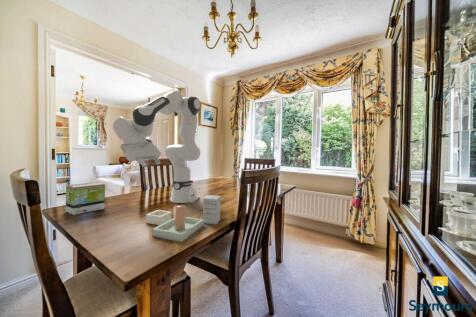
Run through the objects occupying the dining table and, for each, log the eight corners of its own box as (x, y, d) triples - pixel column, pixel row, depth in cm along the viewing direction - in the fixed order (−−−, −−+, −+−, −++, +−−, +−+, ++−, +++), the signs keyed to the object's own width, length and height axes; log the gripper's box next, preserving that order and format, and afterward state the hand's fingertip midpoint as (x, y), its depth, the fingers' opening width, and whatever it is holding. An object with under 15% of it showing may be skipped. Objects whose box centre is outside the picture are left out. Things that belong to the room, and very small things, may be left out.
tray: (178, 221, 99) (178, 215, 99) (203, 225, 95) (203, 219, 95) (152, 236, 82) (152, 229, 82) (182, 242, 78) (182, 234, 78)
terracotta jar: (178, 226, 91) (179, 204, 91) (186, 227, 90) (187, 205, 89) (172, 229, 87) (173, 207, 86) (181, 231, 86) (182, 208, 85)
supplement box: (206, 218, 105) (207, 194, 105) (220, 219, 104) (221, 195, 104) (202, 223, 98) (203, 197, 98) (216, 224, 97) (217, 199, 97)
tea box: (73, 215, 102) (74, 187, 101) (65, 212, 107) (65, 184, 106) (105, 208, 115) (105, 183, 114) (96, 205, 120) (96, 181, 119)
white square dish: (157, 217, 104) (157, 209, 104) (171, 219, 102) (171, 211, 101) (145, 222, 96) (145, 214, 96) (160, 225, 94) (160, 216, 93)
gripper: (122, 139, 90) (140, 162, 87) (153, 140, 109) (168, 159, 107) (114, 148, 91) (132, 171, 89) (146, 148, 111) (161, 166, 109)
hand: (152, 164), depth 98 cm, fingers open, 8 cm apart
